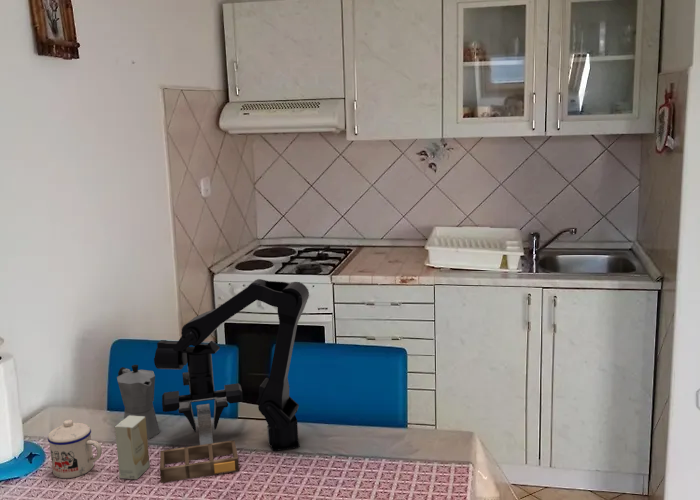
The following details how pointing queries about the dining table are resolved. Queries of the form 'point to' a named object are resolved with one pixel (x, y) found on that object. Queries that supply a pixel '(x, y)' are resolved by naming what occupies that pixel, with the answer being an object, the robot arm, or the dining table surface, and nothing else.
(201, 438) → the grey metallic rectangular block
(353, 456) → the dining table surface
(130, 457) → the skincare box
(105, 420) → the dining table surface
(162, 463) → the rack
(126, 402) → the coffeepot
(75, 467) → the teacup with lid
